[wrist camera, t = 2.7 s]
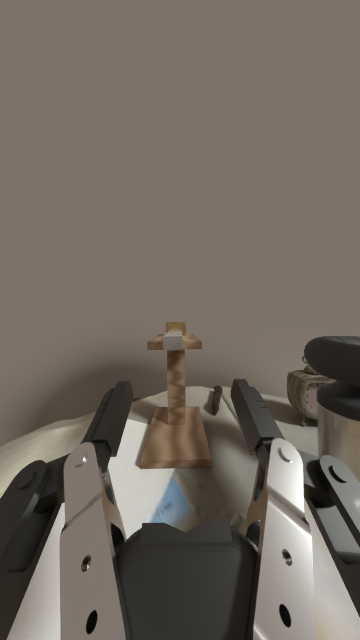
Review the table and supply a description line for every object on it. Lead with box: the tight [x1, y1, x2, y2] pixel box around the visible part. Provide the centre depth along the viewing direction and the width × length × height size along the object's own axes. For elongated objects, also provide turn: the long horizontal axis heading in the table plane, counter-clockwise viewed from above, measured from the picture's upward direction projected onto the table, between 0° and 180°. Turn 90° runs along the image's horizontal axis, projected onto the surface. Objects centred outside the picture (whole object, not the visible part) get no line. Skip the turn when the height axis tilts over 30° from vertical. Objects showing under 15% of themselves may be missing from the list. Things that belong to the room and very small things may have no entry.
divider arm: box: [163, 322, 186, 350], centre depth 41 cm, size 7×32×5 cm, turn 1°
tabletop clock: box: [287, 356, 336, 426], centre depth 51 cm, size 14×9×25 cm, turn 82°
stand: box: [141, 334, 212, 469], centre depth 47 cm, size 18×22×32 cm
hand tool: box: [212, 386, 222, 415], centre depth 64 cm, size 19×4×5 cm, turn 158°
